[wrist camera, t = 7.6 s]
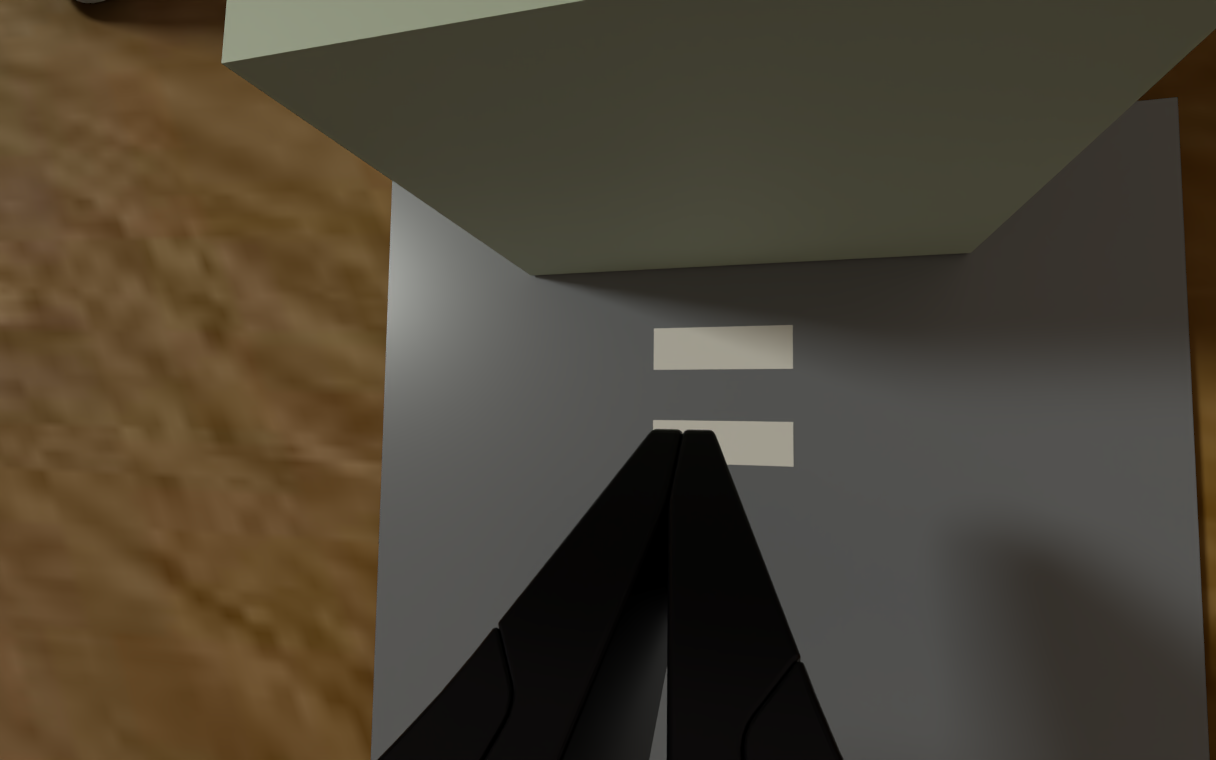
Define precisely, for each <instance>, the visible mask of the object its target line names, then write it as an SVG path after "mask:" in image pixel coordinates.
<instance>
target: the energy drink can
mask: <svg viewBox="0 0 1216 760" xmlns="http://www.w3.org/2000/svg"><path fill="white" fill-rule="evenodd" d="M76 1H79V2H82V3H96V2H101V1H105V0H76Z"/></svg>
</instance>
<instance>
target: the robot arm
mask: <svg viewBox="0 0 1216 760" xmlns="http://www.w3.org/2000/svg"><path fill="white" fill-rule="evenodd" d="M498 627H499V628H497V627H495V628H493V629H492V630H491V632H490V633H489V634H488V635H487V637H486V638H485V639H484V640H483V642H482V643H481V644H480V645H479V647H478V648H477V649H476V650H475V652H474V653H473V654H472V655H471V657H470V658H469V659H468V660H467V661H466V663H465V664H464V665H463V666H462V667H461V669H460V670H459V671H458V672H457V673H456V674H455V676H454V677H453V678H452V679H451V680H450V682H449V683H448V684H447V685H446V686H445V688H444V689H443V690H442V691H441V692H440V693H439V694H438V696H437V697H436V698H435V699H434V700H433V701H432V702H431V703H430V704H429V705H428V706H427V707H426V708H425V710H424V711H423V712H422V713H421V714H420V715H419V716H418V717H417V718H416V719H415V720H414V721H413V723H412V724H411V725H410V726H409V727H408V728H407V729H406V730H405V731H404V732H403V733H402V734H401V735H400V736H399V737H398V739H397V740H396V741H395V742H394V743H393V744H392V745H391V746H390V747H389V748H388V749H387V750H386V751H385V752H384V753H383V754H382V755H381V756H380V757H379V758H378V759H377V760H649V758H650V753H651V748H652V743H653V737H654V732H655V727H656V722H657V716H658V711H659V706H660V701H661V695H662V690H663V685H664V679H665V674H666V669H667V760H844V759H843V757H842V755H841V753H840V751H839V748H838V746H837V744H836V741H835V739H834V736H833V734H832V732H831V729H830V727H829V724H828V722H827V720H826V717H825V715H824V713H823V710H822V708H821V705H820V703H819V701H818V698H817V696H816V693H815V691H814V688H813V685H812V683H811V680H810V678H809V675H808V672H807V670H806V667H805V665H804V663H803V662H801V655H800V653H799V650H798V647H797V645H796V642H795V640H794V637H793V634H792V632H791V629H790V627H789V624H788V621H787V619H786V616H785V614H784V611H783V608H782V606H781V603H780V601H779V598H778V595H777V593H776V590H775V588H774V585H773V582H772V580H771V577H770V575H769V572H768V569H767V567H766V564H765V562H764V559H763V556H762V554H761V551H760V549H759V546H758V543H757V541H756V538H755V536H754V533H753V530H752V528H751V525H750V523H749V520H748V517H747V515H746V512H745V510H744V507H743V504H742V502H741V499H740V497H739V494H738V491H737V489H736V486H735V484H734V481H733V478H732V476H731V473H730V471H729V468H728V466H727V463H726V460H725V458H724V455H723V453H722V450H721V447H720V445H719V442H718V440H717V437H716V435H715V433H714V432H713V431H712V430H691V429H688V430H685V431H684V433H682V431H680V430H678V429H654V430H652V431H651V432H650V433H649V434H648V435H647V436H646V437H645V439H644V440H643V441H642V443H641V444H640V445H639V446H638V448H637V449H636V450H635V451H634V453H633V454H632V455H631V456H630V458H629V459H628V460H627V461H626V463H625V464H624V465H623V466H622V468H621V469H620V470H619V471H618V473H617V474H616V475H615V476H614V478H613V479H612V480H611V481H610V483H609V484H608V485H607V486H606V488H605V489H604V490H603V491H602V493H601V494H600V495H599V496H598V498H597V499H596V500H595V502H594V503H593V504H592V505H591V507H590V508H589V509H588V510H587V512H586V513H585V514H584V515H583V517H582V518H581V519H580V520H579V522H578V523H577V524H576V525H575V527H574V528H573V529H572V530H571V532H570V533H569V534H568V535H567V537H566V538H565V539H564V540H563V542H562V543H561V544H560V545H559V547H558V548H557V549H556V550H555V552H554V553H553V554H552V556H551V557H550V558H549V559H548V561H547V562H546V563H545V564H544V566H543V567H542V568H541V569H540V571H539V572H538V573H537V574H536V576H535V577H534V578H533V579H532V581H531V582H530V583H529V584H528V586H527V587H526V588H525V589H524V591H523V592H522V593H521V594H520V596H519V597H518V598H517V599H516V601H515V602H514V603H513V604H512V606H511V607H510V608H509V609H508V611H507V612H506V613H505V614H504V616H503V617H502V618H501V620H500V621H499V622H498Z"/></svg>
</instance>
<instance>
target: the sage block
mask: <svg viewBox="0 0 1216 760" xmlns="http://www.w3.org/2000/svg"><path fill="white" fill-rule="evenodd" d="M1215 29H1216V0H227V4H226V16H225V27H224V39H223V51H222V64H223V65H225V66H226V67H228V68H229V69H231V70H232V71H233V72H235V73H236V74H238V75H239V76H241V77H242V78H244V79H245V80H247V81H248V82H249V83H251V84H252V85H254V86H255V87H257V88H258V89H260V90H261V91H263V92H264V93H265V94H267V95H268V96H270V97H271V98H273V99H274V100H276V101H277V102H279V103H280V104H282V105H283V106H284V107H286V108H287V109H289V110H290V111H292V112H293V113H295V114H296V115H298V116H299V117H300V118H302V119H303V120H305V121H306V122H308V123H309V124H311V125H312V126H314V127H315V128H317V129H318V130H319V131H321V132H322V133H324V134H325V135H327V136H328V137H330V138H331V139H333V140H334V141H335V142H337V143H338V144H340V145H341V146H343V147H344V148H346V149H347V150H349V151H350V152H351V153H353V154H354V155H356V156H357V157H359V158H360V159H362V160H363V161H365V162H366V163H368V164H369V165H370V166H372V167H373V168H375V169H376V170H378V171H379V172H381V173H382V174H384V175H385V176H386V177H388V178H389V179H391V180H392V181H394V182H395V183H397V184H398V185H400V186H401V187H403V188H404V189H405V190H407V191H408V192H410V193H411V194H413V195H414V196H416V197H417V198H419V199H420V200H421V201H423V202H424V203H426V204H427V205H429V206H430V207H432V208H433V209H435V210H436V211H437V212H439V213H440V214H442V215H443V216H445V217H446V218H448V219H449V220H451V221H452V222H454V223H455V224H456V225H458V226H459V227H461V228H462V229H464V230H465V231H467V232H468V233H470V234H471V235H472V236H474V237H475V238H477V239H478V240H480V241H481V242H483V243H484V244H486V245H487V246H489V247H490V248H491V249H493V250H494V251H496V252H497V253H499V254H500V255H502V256H503V257H505V258H506V259H507V260H509V261H510V262H512V263H513V264H515V265H516V266H518V267H519V268H521V269H522V270H523V271H525V272H526V273H528V274H529V275H551V274H570V273H590V272H609V271H629V270H648V269H668V268H687V267H707V266H726V265H746V264H765V263H785V262H804V261H824V260H843V259H863V258H882V257H902V256H921V255H941V254H960V253H971V252H972V251H974V250H975V249H976V248H977V247H978V246H979V245H980V244H981V243H982V242H983V241H984V240H986V239H987V238H988V237H989V236H990V235H991V234H992V233H993V232H994V231H995V230H996V229H998V228H999V227H1000V226H1001V225H1002V224H1003V223H1004V222H1005V221H1006V220H1007V219H1008V218H1010V217H1011V216H1012V215H1013V214H1014V213H1015V212H1016V211H1017V210H1018V209H1019V208H1020V207H1022V206H1023V205H1024V204H1025V203H1026V202H1027V201H1028V200H1029V199H1030V198H1031V197H1032V196H1034V195H1035V194H1036V193H1037V192H1038V191H1039V190H1040V189H1041V188H1042V187H1043V186H1044V185H1046V184H1047V183H1048V182H1049V181H1050V180H1051V179H1052V178H1053V177H1054V176H1055V175H1056V174H1058V173H1059V172H1060V171H1061V170H1062V169H1063V168H1064V167H1065V166H1066V165H1067V164H1068V163H1070V162H1071V161H1072V160H1073V159H1074V158H1075V157H1076V156H1077V155H1078V154H1079V153H1080V152H1082V151H1083V150H1084V149H1085V148H1086V147H1087V146H1088V145H1089V144H1090V143H1091V142H1092V141H1094V140H1095V139H1096V138H1097V137H1098V136H1099V135H1100V134H1101V133H1102V132H1103V131H1104V130H1106V129H1107V128H1108V127H1109V126H1110V125H1111V124H1112V123H1113V122H1114V121H1115V120H1116V119H1118V118H1119V117H1120V116H1121V115H1122V114H1123V113H1124V112H1125V111H1126V110H1127V109H1128V108H1130V107H1131V106H1132V105H1133V104H1134V103H1135V102H1136V101H1137V100H1138V99H1139V98H1140V97H1142V96H1143V95H1144V94H1145V93H1146V92H1147V91H1148V90H1149V89H1150V88H1151V87H1152V86H1154V85H1155V84H1156V83H1157V82H1158V81H1159V80H1160V79H1161V78H1162V77H1163V76H1164V75H1166V74H1167V73H1168V72H1169V71H1170V70H1171V69H1172V68H1173V67H1174V66H1175V65H1176V64H1178V63H1179V62H1180V61H1181V60H1182V59H1183V58H1184V57H1185V56H1186V55H1187V54H1189V53H1190V52H1191V51H1192V50H1193V49H1194V48H1195V47H1196V46H1197V45H1198V44H1199V43H1201V42H1202V41H1203V40H1204V39H1205V38H1206V37H1207V36H1208V35H1209V34H1210V33H1211V32H1213V31H1214V30H1215Z"/></svg>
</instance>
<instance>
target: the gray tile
mask: <svg viewBox="0 0 1216 760" xmlns="http://www.w3.org/2000/svg"><path fill="white" fill-rule="evenodd" d="M654 429H678V430H680V431H682V433H684V431H685V430H688V429H691V430H712V431H713V432H714V433H715V435H716V437H717V440H718V442H719V445H720V447H721V450H722V453H723V455H724V458H725V460H726V463H727V466H728V468H729V471H730V473H731V476H732V478H733V481H734V484H735V486H736V489H737V491H738V494H739V497H740V499H741V502H742V504H743V507H744V510H745V512H746V515H747V517H748V520H749V523H750V525H751V528H752V530H753V533H754V536H755V538H756V541H757V543H758V546H759V549H760V551H761V554H762V556H763V559H764V562H765V564H766V567H767V569H768V572H769V575H770V577H771V580H772V582H773V585H774V588H775V590H776V593H777V595H778V598H779V601H780V603H781V606H782V608H783V611H784V614H785V616H786V619H787V621H788V624H789V627H790V629H791V632H792V634H793V637H794V640H795V642H796V645H797V647H798V650H799V653H800V655H801V662H803V663H804V665H805V667H806V670H807V672H808V675H809V678H810V680H811V683H812V685H813V688H814V691H815V693H816V696H817V698H818V701H819V703H820V705H821V708H822V710H823V713H824V715H825V717H826V720H827V722H828V724H829V727H830V729H831V732H832V734H833V736H834V739H835V741H836V744H837V746H838V748H839V751H840V753H841V755H842V757H843V759H844V760H1210V758H1209V737H1208V717H1207V696H1206V675H1205V654H1204V634H1203V613H1202V592H1201V572H1200V551H1199V530H1198V509H1197V489H1196V468H1195V447H1194V426H1193V406H1192V385H1191V364H1190V343H1189V323H1188V302H1187V281H1186V261H1185V240H1184V219H1183V198H1182V178H1181V157H1180V136H1179V115H1178V97H1174V98H1164V99H1154V100H1144V101H1136V102H1135V103H1134V104H1133V105H1132V106H1131V107H1130V108H1128V109H1127V110H1126V111H1125V112H1124V113H1123V114H1122V115H1121V116H1120V117H1119V118H1118V119H1116V120H1115V121H1114V122H1113V123H1112V124H1111V125H1110V126H1109V127H1108V128H1107V129H1106V130H1104V131H1103V132H1102V133H1101V134H1100V135H1099V136H1098V137H1097V138H1096V139H1095V140H1094V141H1092V142H1091V143H1090V144H1089V145H1088V146H1087V147H1086V148H1085V149H1084V150H1083V151H1082V152H1080V153H1079V154H1078V155H1077V156H1076V157H1075V158H1074V159H1073V160H1072V161H1071V162H1070V163H1068V164H1067V165H1066V166H1065V167H1064V168H1063V169H1062V170H1061V171H1060V172H1059V173H1058V174H1056V175H1055V176H1054V177H1053V178H1052V179H1051V180H1050V181H1049V182H1048V183H1047V184H1046V185H1044V186H1043V187H1042V188H1041V189H1040V190H1039V191H1038V192H1037V193H1036V194H1035V195H1034V196H1032V197H1031V198H1030V199H1029V200H1028V201H1027V202H1026V203H1025V204H1024V205H1023V206H1022V207H1020V208H1019V209H1018V210H1017V211H1016V212H1015V213H1014V214H1013V215H1012V216H1011V217H1010V218H1008V219H1007V220H1006V221H1005V222H1004V223H1003V224H1002V225H1001V226H1000V227H999V228H998V229H996V230H995V231H994V232H993V233H992V234H991V235H990V236H989V237H988V238H987V239H986V240H984V241H983V242H982V243H981V244H980V245H979V246H978V247H977V248H976V249H975V250H974V251H972V252H971V253H960V254H941V255H921V256H902V257H882V258H863V259H843V260H824V261H804V262H785V263H765V264H746V265H726V266H707V267H687V268H668V269H648V270H629V271H609V272H590V273H570V274H551V275H529V274H528V273H526V272H525V271H523V270H522V269H521V268H519V267H518V266H516V265H515V264H513V263H512V262H510V261H509V260H507V259H506V258H505V257H503V256H502V255H500V254H499V253H497V252H496V251H494V250H493V249H491V248H490V247H489V246H487V245H486V244H484V243H483V242H481V241H480V240H478V239H477V238H475V237H474V236H472V235H471V234H470V233H468V232H467V231H465V230H464V229H462V228H461V227H459V226H458V225H456V224H455V223H454V222H452V221H451V220H449V219H448V218H446V217H445V216H443V215H442V214H440V213H439V212H437V211H436V210H435V209H433V208H432V207H430V206H429V205H427V204H426V203H424V202H423V201H421V200H420V199H419V198H417V197H416V196H414V195H413V194H411V193H410V192H408V191H407V190H405V189H404V188H403V187H401V186H400V185H398V184H397V183H395V182H394V181H392V206H391V233H390V260H389V287H388V314H387V341H386V368H385V395H384V422H383V449H382V476H381V502H380V529H379V556H378V583H377V610H376V637H375V664H374V691H373V718H372V745H371V760H377V759H378V758H379V757H380V756H381V755H382V754H383V753H384V752H385V751H386V750H387V749H388V748H389V747H390V746H391V745H392V744H393V743H394V742H395V741H396V740H397V739H398V737H399V736H400V735H401V734H402V733H403V732H404V731H405V730H406V729H407V728H408V727H409V726H410V725H411V724H412V723H413V721H414V720H415V719H416V718H417V717H418V716H419V715H420V714H421V713H422V712H423V711H424V710H425V708H426V707H427V706H428V705H429V704H430V703H431V702H432V701H433V700H434V699H435V698H436V697H437V696H438V694H439V693H440V692H441V691H442V690H443V689H444V688H445V686H446V685H447V684H448V683H449V682H450V680H451V679H452V678H453V677H454V676H455V674H456V673H457V672H458V671H459V670H460V669H461V667H462V666H463V665H464V664H465V663H466V661H467V660H468V659H469V658H470V657H471V655H472V654H473V653H474V652H475V650H476V649H477V648H478V647H479V645H480V644H481V643H482V642H483V640H484V639H485V638H486V637H487V635H488V634H489V633H490V632H491V630H492V629H493V628H495V627H497V628H499V627H498V622H499V621H500V620H501V618H502V617H503V616H504V614H505V613H506V612H507V611H508V609H509V608H510V607H511V606H512V604H513V603H514V602H515V601H516V599H517V598H518V597H519V596H520V594H521V593H522V592H523V591H524V589H525V588H526V587H527V586H528V584H529V583H530V582H531V581H532V579H533V578H534V577H535V576H536V574H537V573H538V572H539V571H540V569H541V568H542V567H543V566H544V564H545V563H546V562H547V561H548V559H549V558H550V557H551V556H552V554H553V553H554V552H555V550H556V549H557V548H558V547H559V545H560V544H561V543H562V542H563V540H564V539H565V538H566V537H567V535H568V534H569V533H570V532H571V530H572V529H573V528H574V527H575V525H576V524H577V523H578V522H579V520H580V519H581V518H582V517H583V515H584V514H585V513H586V512H587V510H588V509H589V508H590V507H591V505H592V504H593V503H594V502H595V500H596V499H597V498H598V496H599V495H600V494H601V493H602V491H603V490H604V489H605V488H606V486H607V485H608V484H609V483H610V481H611V480H612V479H613V478H614V476H615V475H616V474H617V473H618V471H619V470H620V469H621V468H622V466H623V465H624V464H625V463H626V461H627V460H628V459H629V458H630V456H631V455H632V454H633V453H634V451H635V450H636V449H637V448H638V446H639V445H640V444H641V443H642V441H643V440H644V439H645V437H646V436H647V435H648V434H649V433H650V432H651V431H652V430H654ZM649 760H667V669H666V674H665V679H664V685H663V690H662V695H661V701H660V706H659V711H658V716H657V722H656V727H655V732H654V737H653V743H652V748H651V753H650V758H649Z"/></svg>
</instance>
